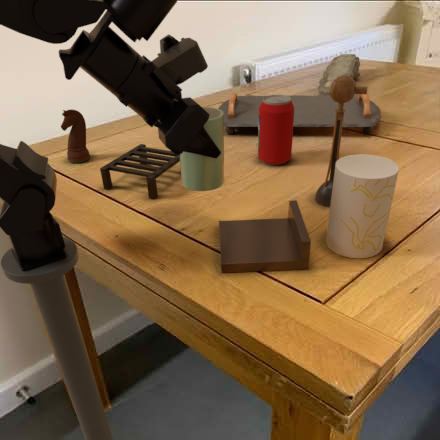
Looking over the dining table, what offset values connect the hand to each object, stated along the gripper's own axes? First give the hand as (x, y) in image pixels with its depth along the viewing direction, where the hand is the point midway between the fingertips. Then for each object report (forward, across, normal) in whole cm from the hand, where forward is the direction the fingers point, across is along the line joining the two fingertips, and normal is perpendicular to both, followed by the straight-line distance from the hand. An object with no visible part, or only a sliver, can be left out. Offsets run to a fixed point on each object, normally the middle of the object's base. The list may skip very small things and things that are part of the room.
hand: (210, 147), depth 67 cm
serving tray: (+34, +39, -17) cm, 55 cm away
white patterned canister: (+21, -14, -3) cm, 25 cm away
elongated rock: (+48, +62, -39) cm, 88 cm away
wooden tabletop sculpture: (+24, 0, -6) cm, 25 cm away
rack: (+5, +22, +13) cm, 26 cm away
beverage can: (+24, +20, -6) cm, 31 cm away
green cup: (+3, 0, +5) cm, 5 cm away
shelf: (+12, -9, +6) cm, 16 cm away
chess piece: (-6, +38, +17) cm, 42 cm away
